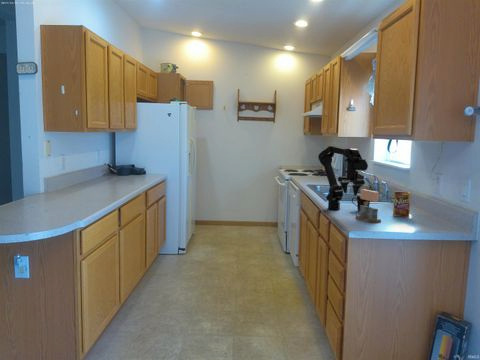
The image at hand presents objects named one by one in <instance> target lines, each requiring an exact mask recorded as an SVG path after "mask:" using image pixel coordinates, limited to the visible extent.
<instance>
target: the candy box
mask: <svg viewBox="0 0 480 360" xmlns="http://www.w3.org/2000/svg"><path fill="white" fill-rule="evenodd" d="M411 197H412V191H401V190H395V191H394V197H393V209H392V210H393V211H392V216H393V217H401V218H408V219H409V217H410V209H411Z"/></svg>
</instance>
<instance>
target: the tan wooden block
mask: <svg viewBox="0 0 480 360" xmlns="http://www.w3.org/2000/svg"><path fill="white" fill-rule="evenodd" d="M379 193H380V192H379V191H374V190H370V189H365V188H361V189H360V194H361V195H360V194H359V195H360V199H364V200H368V201H370V202H372V203H379V195H380V194H379Z"/></svg>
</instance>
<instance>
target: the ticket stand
mask: <svg viewBox="0 0 480 360" xmlns="http://www.w3.org/2000/svg"><path fill="white" fill-rule="evenodd" d="M356 218H357V220H361V221H363V222H366V223H370V224H375V223H377V224H378V223H381V222H382V219H381V218H378V208H375V207H371V206H369V207H368V206H364V205H360V211H359V213H358V215H355V219H356Z"/></svg>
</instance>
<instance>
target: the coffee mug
mask: <svg viewBox="0 0 480 360" xmlns="http://www.w3.org/2000/svg"><path fill="white" fill-rule="evenodd" d="M360 195H361V193H360V194H357V195H356V197H353V198H352V199H351V203H352V204H353V206H354V205H355V207H357V212H360V205H364V206H368V207H370V203H371V201H368V200H364V199H360ZM354 199H356V202H357V204H356V203H355V202H354V201H353V200H354Z"/></svg>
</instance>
